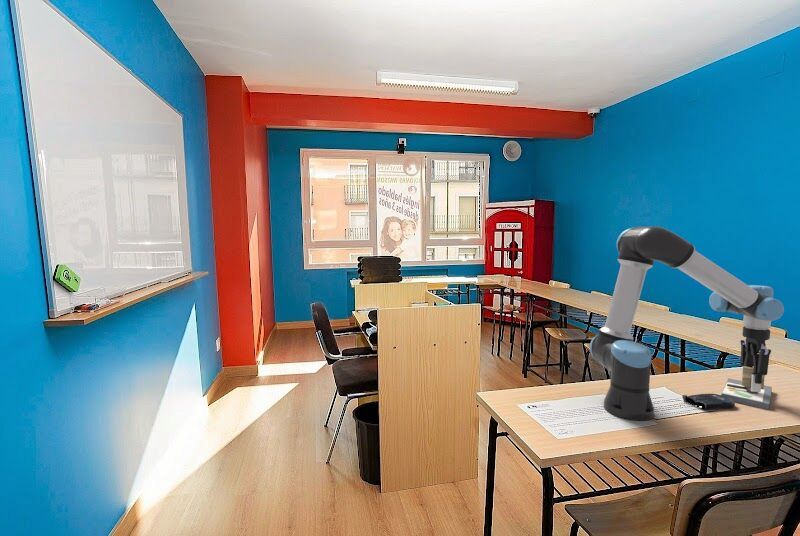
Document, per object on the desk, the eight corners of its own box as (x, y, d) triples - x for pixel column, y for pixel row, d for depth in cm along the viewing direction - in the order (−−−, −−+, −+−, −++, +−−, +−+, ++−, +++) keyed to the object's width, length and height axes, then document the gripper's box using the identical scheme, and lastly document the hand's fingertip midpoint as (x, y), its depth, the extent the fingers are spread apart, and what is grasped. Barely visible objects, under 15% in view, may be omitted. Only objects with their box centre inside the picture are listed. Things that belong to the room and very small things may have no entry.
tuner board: (768, 409, 137) (769, 403, 137) (721, 398, 146) (721, 392, 146) (771, 391, 152) (771, 385, 152) (728, 383, 162) (728, 377, 161)
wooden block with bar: (763, 395, 143) (765, 371, 143) (727, 388, 150) (728, 365, 149) (762, 392, 146) (764, 369, 145) (726, 386, 152) (728, 363, 152)
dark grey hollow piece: (707, 417, 135) (742, 407, 138) (704, 401, 135) (739, 391, 138) (683, 409, 144) (716, 399, 147) (680, 394, 144) (713, 385, 147)
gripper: (785, 333, 136) (779, 399, 138) (754, 323, 152) (749, 381, 154) (759, 332, 137) (754, 397, 139) (731, 322, 154) (727, 380, 156)
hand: (751, 389), depth 147 cm, fingers closed on wooden block with bar, 4 cm apart
